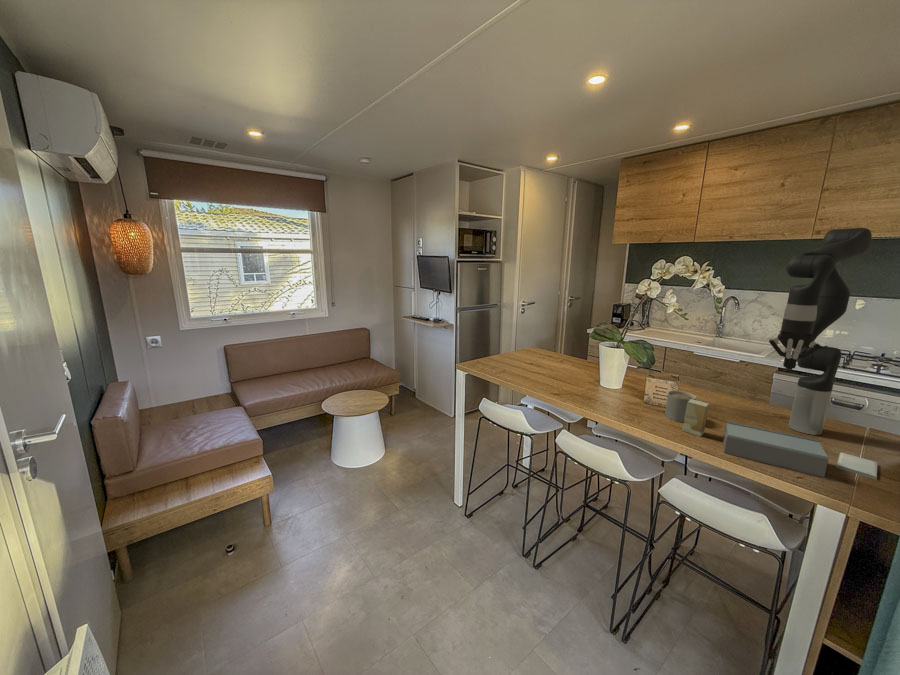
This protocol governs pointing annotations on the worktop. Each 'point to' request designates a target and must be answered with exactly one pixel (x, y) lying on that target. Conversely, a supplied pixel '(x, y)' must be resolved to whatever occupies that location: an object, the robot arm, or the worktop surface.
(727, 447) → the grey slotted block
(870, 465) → the hard drive
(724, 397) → the worktop surface
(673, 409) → the coffee mug
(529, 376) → the worktop surface
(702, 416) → the skincare box
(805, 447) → the cover
